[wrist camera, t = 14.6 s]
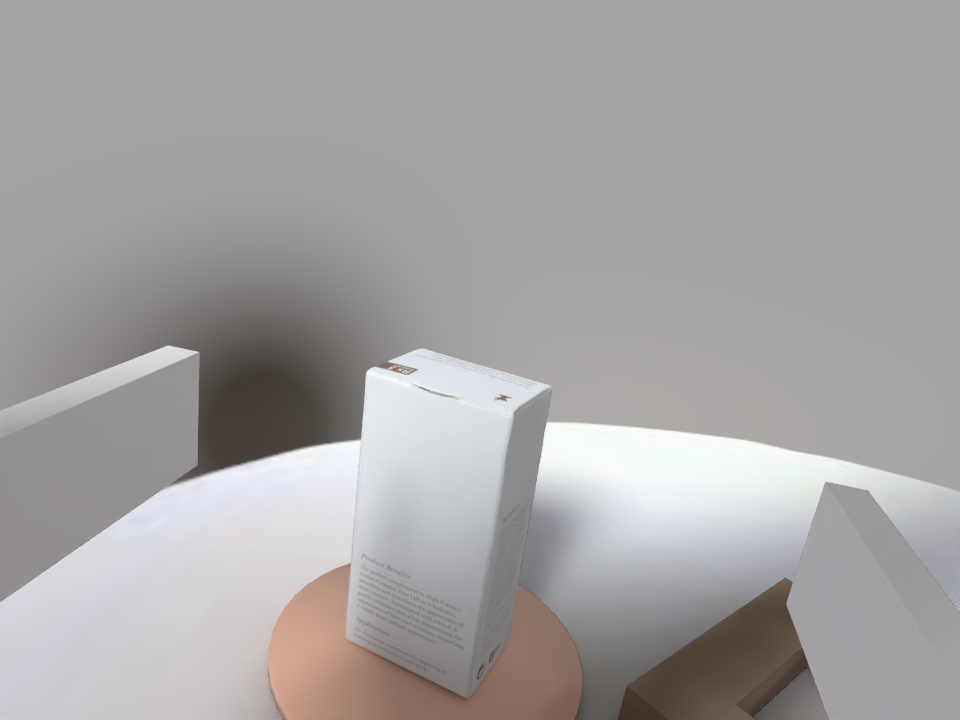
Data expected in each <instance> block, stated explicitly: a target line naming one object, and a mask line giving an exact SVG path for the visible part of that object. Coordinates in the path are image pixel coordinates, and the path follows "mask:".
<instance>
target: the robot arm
mask: <svg viewBox="0 0 960 720" xmlns="http://www.w3.org/2000/svg"><path fill="white" fill-rule="evenodd" d="M198 397H199V352H196V351H191V350H187V349H182V348H176V347H172V346H166V347H163V348H161V349H158V350H156V351H153V352H151V353H148V354H145V355H143V356H140V357H137V358H135V359H132V360H130V361H127V362H125V363H122V364H120V365H117V366H114V367H112V368H109V369H107V370H104V371H101V372H99V373H96V374H94V375H91V376H88V377H86V378H83V379H81V380H78V381H76V382H73V383H70V384H68V385H66V386H63V387H60V388H58V389H55V390H53V391H50V392H48V393H45V394H42V395H40V396H37V397H35V398H32V399H29V400H27V401H24V402H22V403H19V404H17V405H14V406H11V407H9V408H7V409H4V410H1V411H0V602H1V601H2V600H4V599H5V598H7V597H8V596H10V595H11V594H13V593H14V592H15V591H17V590H18V589H20V588H21V587H23V586H24V585H25V584H27V583H28V582H30V581H31V580H33V579H34V578H36V577H37V576H38V575H40V574H41V573H43V572H44V571H46V570H47V569H49V568H50V567H51V566H53V565H54V564H56V563H57V562H59V561H60V560H61V559H63V558H64V557H66V556H67V555H69V554H70V553H72V552H73V551H74V550H76V549H77V548H79V547H80V546H82V545H83V544H85V543H86V542H87V541H89V540H90V539H92V538H93V537H95V536H96V535H97V534H99V533H100V532H102V531H103V530H105V529H106V528H108V527H109V526H110V525H112V524H113V523H115V522H116V521H118V520H119V519H121V518H122V517H123V516H125V515H126V514H128V513H129V512H131V511H132V510H133V509H135V508H136V507H138V506H139V505H141V504H142V503H144V502H145V501H146V500H148V499H149V498H151V497H152V496H154V495H155V494H156V493H158V492H159V491H161V490H162V489H164V488H165V487H167V486H168V485H169V484H171V483H172V482H174V481H175V480H177V479H178V478H180V477H181V476H182V475H184V474H185V473H187V472H188V471H190V470H191V469H192V468H194V467H195V466H197V452H198ZM786 605H787V607H788V610H789V613H790V615H791V618H792V621H793V624H794V626H795V629H796V632H797V634H798V637H799V640H800V643H801V645H802V648H803V651H804V653H805V656H806V659H807V661H808V664H809V667H810V670H811V672H812V675H813V678H814V680H815V683H816V686H817V689H818V691H819V694H820V697H821V699H822V702H823V705H824V707H825V710H826V713H827V716H828V718H829V720H960V612H959V611H958V610H957V608H956V607H955V606H954V604H953V603H952V602H951V600H950V599H949V598H948V596H947V595H946V594H945V592H944V591H943V590H942V588H941V587H940V586H939V584H938V583H937V582H936V580H935V579H934V578H933V576H932V575H931V574H930V572H929V571H928V570H927V569H926V567H925V566H924V565H923V563H922V562H921V561H920V559H919V558H918V557H917V555H916V554H915V553H914V551H913V550H912V549H911V547H910V546H909V545H908V543H907V542H906V541H905V539H904V538H903V537H902V535H901V534H900V533H899V531H898V530H897V529H896V527H895V526H894V525H893V523H892V522H891V521H890V519H889V518H888V517H887V515H886V514H885V513H884V511H883V510H882V509H881V507H880V506H879V505H878V503H877V502H876V501H875V499H874V498H873V497H872V495H871V494H870V493H869V491H867V490H862V489H857V488H852V487H848V486H843V485H838V484H833V483H828V482H825V485H824V488H823V491H822V494H821V497H820V500H819V503H818V506H817V510H816V513H815V516H814V519H813V522H812V525H811V528H810V531H809V534H808V537H807V541H806V544H805V547H804V550H803V553H802V556H801V559H800V562H799V565H798V568H797V572H796V575H795V578H794V581H793V584H792V587H791V590H790V593H789V596H788V599H787V603H786Z"/></svg>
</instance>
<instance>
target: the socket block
mask: <svg viewBox="0 0 960 720" xmlns="http://www.w3.org/2000/svg"><path fill="white" fill-rule="evenodd" d="M792 584H793V582H792V581H790V580H788V579H786V578H784V579H783V580H781V581H780V582H779V583H777V584H776V585H774V586H773V587H771V588H770V589H768V590H767V591H765V592H764V593H762V594H761V595H760V596H758V597H757V598H755V599H754V600H752V601H751V602H749V603H748V604H746V605H745V606H743V607H742V608H741V609H739V610H738V611H736V612H735V613H733V614H732V615H730V616H729V617H727V618H726V619H724V620H723V621H722V622H720V623H719V624H717V625H716V626H714V627H713V628H711V629H710V630H708V631H707V632H705V633H704V634H703V635H701V636H700V637H698V638H697V639H695V640H694V641H692V642H691V643H689V644H688V645H686V646H685V647H684V648H682V649H681V650H679V651H678V652H676V653H675V654H673V655H672V656H670V657H669V658H667V659H666V660H665V661H663V662H662V663H660V664H659V665H657V666H656V667H654V668H653V669H651V670H650V671H648V672H647V673H646V674H644V675H643V676H641V677H640V678H638V679H637V680H635V681H634V682H632V683H631V684H629V685H628V686H627V688H626V692H625V695H624V699H623V703H622V706H621V710H620V714H619V717H618V720H756V719H754V718H753V716H754V715H756V714H757V713H758V712H759V711H760V710H761V709H762V708H763V707H764V706H765V705H766V704H767V703H768V702H770V701H771V700H772V699H773V698H774V697H775V696H776V695H777V694H778V693H779V692H780V691H781V690H782V689H784V688H785V687H786V686H787V685H788V684H789V683H790V682H791V681H792V680H793V679H794V678H795V677H796V676H797V675H799V674H800V673H801V672H802V671H803V670H804V669H805V668H806V667H807V668H809V669H810V667H809V664H808V661H807V659H806V656H805V653H804V651H803V648H802V645H801V643H800V640H799V637H798V634H797V632H796V629H795V626H794V624H793V621H792V618H791V615H790V613H789V610H788V607H787V605H786V603H787V599H788V596H789V593H790V590H791V587H792Z"/></svg>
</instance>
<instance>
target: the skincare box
mask: <svg viewBox="0 0 960 720" xmlns="http://www.w3.org/2000/svg"><path fill="white" fill-rule="evenodd" d="M551 394H552V388H551V386H550V385H546V384H543V383H539V382H536V381H532V380H529V379H526V378H522V377H519V376H515V375H512V374H509V373H505V372H502V371H498V370H495V369H491V368H488V367H484V366H481V365H477V364H474V363H470V362H467V361H463V360H460V359H456V358H453V357H450V356H446V355H442V354H439V353H436V352H433V351H429V350H426V349H418V350H415V351H412V352H410V353H407V354H405V355H402V356H400V357H398V358H395V359H393V360H390V361H388V362H386V363H383V364H381V365H379V366H376V367H374V368H371V369H369V370H368V371H367V373H366V383H365V399H364V412H363V423H362V435H361V448H360V461H359V473H358V484H357V497H356V509H355V519H354V530H353V542H352V555H351V568H350V581H349V592H348V603H347V614H346V625H345V637H346V639H348V640H349V641H351V642H353V643H355V644H357V645H359V646H361V647H363V648H365V649H367V650H369V651H371V652H373V653H375V654H378V655H380V656H382V657H384V658H386V659H388V660H390V661H392V662H394V663H396V664H398V665H400V666H402V667H404V668H406V669H408V670H410V671H412V672H414V673H416V674H418V675H420V676H422V677H424V678H426V679H428V680H430V681H432V682H434V683H436V684H438V685H440V686H442V687H444V688H446V689H448V690H450V691H452V692H454V693H456V694H458V695H460V696H462V697H464V698H470V696H471V695H472V694H473V692H474V691H475V690H476V688H477V687H478V685H479V684H480V682H481V681H482V680H483V678H484V677H485V675H486V674H487V672H488V671H489V669H490V668H491V667H492V665H493V664H494V662H495V661H496V660H497V658H498V657H499V655H500V654H501V652H502V651H503V650H504V648H505V647H506V645H507V643H508V641H509V636H510V630H511V622H512V616H513V610H514V605H515V600H516V594H517V588H518V583H519V577H520V571H521V566H522V560H523V554H524V549H525V543H526V538H527V532H528V526H529V520H530V514H531V509H532V503H533V497H534V492H535V486H536V481H537V474H538V469H539V463H540V458H541V451H542V446H543V438H544V431H545V427H546V422H547V416H548V412H549V406H550V400H551Z"/></svg>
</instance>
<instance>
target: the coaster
mask: <svg viewBox="0 0 960 720" xmlns="http://www.w3.org/2000/svg"><path fill="white" fill-rule="evenodd" d="M350 568H351V563H350V564H347V565H344V566H342V567H339V568H336V569H334V570H332V571H330V572H328V573H326V574H324V575H322V576H320V577H319V578H317V579H316V580H314V581H312V582H311V583H309V584H308V585H307V586H305V587H304V588H303V589H302V590H301V591H300V592H299V593H297V594H296V595H295V596H294V598H293V599H292V600H291V601H290V602H289V603H288V604H287V606H286V607H285V609H284V610H283V612H282V613H281V615H280V616H279V618H278V620H277V623H276V625H275V628H274V630H273V633H272V638H271V642H270V648H269V663H268V676H269V682H270V688H271V692H272V695H273V698H274V701H275V703H276V706H277V708H278V710H279V712H280V714H281V715H282V717H283V719H284V720H575V717H576V714H577V711H578V707H579V703H580V699H581V692H582V686H583V683H582V668H581V663H580V658H579V655H578V652H577V649H576V647H575V644H574V642H573V640H572V638H571V636H570V635H569V633H568V631H567V629H566V628H565V627H564V625H563V624H562V623H561V621H560V620H559V618H558V617H557V616H556V615H555V614H554V613H553V612H552V611H551V610H550V609H549V608H548V607H547V606H546V605H545V604H544V603H543V602H542V601H541V600H539V599H538V598H537V597H536V596H535V595H533V594H532V593H531V592H529V591H528V590H526V589H525V588H523V587H522V586H520V585H519V584H518V588H517V594H516V600H515V605H514V610H513V616H512V622H511V630H510V636H509V641H508V643H507V645H506V647H505V648H504V650H503V651H502V652H501V654H500V655H499V657H498V658H497V660H496V661H495V662H494V664H493V665H492V667H491V668H490V669H489V671H488V672H487V674H486V675H485V677H484V678H483V680H482V681H481V682H480V684H479V685H478V687H477V688H476V690H475V691H474V692H473V694H472V695H471V696H470V698H464V697H462V696H460V695H458V694H456V693H454V692H452V691H450V690H448V689H446V688H444V687H442V686H440V685H438V684H436V683H434V682H432V681H430V680H428V679H426V678H424V677H422V676H420V675H418V674H416V673H414V672H412V671H410V670H408V669H406V668H404V667H402V666H400V665H398V664H396V663H394V662H392V661H390V660H388V659H386V658H384V657H382V656H380V655H378V654H375V653H373V652H371V651H369V650H367V649H365V648H363V647H361V646H359V645H357V644H355V643H353V642H351V641H349V640H348V639H346V637H345V625H346V614H347V603H348V592H349V581H350Z"/></svg>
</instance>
